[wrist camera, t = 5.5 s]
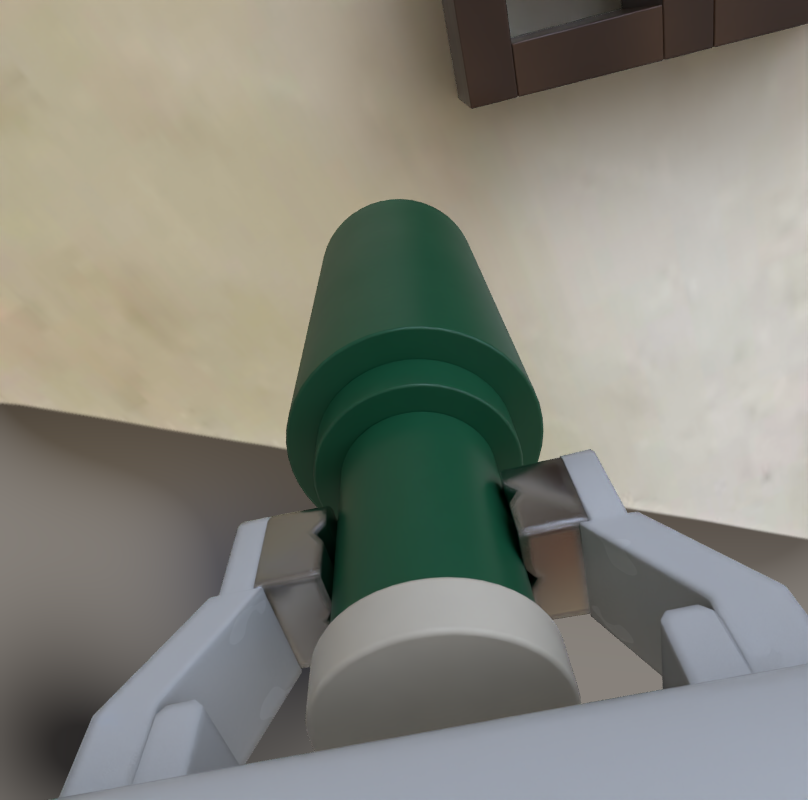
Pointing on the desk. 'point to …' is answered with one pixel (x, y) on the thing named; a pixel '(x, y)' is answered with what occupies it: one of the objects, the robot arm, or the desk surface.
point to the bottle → (418, 488)
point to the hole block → (595, 41)
